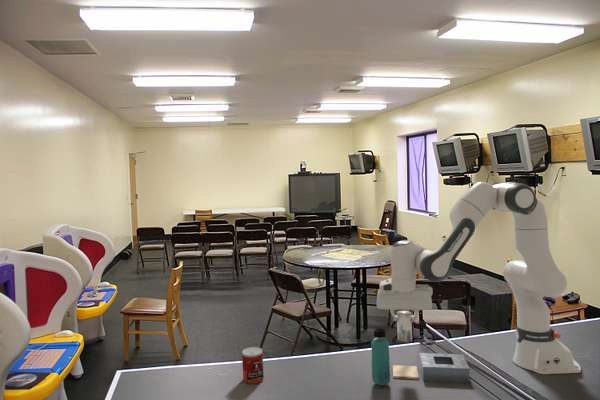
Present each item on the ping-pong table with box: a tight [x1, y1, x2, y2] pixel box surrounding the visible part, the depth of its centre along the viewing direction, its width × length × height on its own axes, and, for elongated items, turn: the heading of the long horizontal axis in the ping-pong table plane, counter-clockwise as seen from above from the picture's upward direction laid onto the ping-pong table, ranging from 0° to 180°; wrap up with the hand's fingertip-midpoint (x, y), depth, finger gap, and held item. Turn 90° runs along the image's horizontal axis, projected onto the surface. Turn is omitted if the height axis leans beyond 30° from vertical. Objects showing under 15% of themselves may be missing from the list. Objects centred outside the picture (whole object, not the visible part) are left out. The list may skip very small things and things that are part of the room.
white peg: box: [396, 310, 413, 343], centre depth 162 cm, size 5×5×10 cm
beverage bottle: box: [370, 328, 391, 386], centre depth 154 cm, size 6×7×20 cm
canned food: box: [241, 346, 265, 385], centre depth 161 cm, size 8×8×11 cm
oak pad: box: [392, 364, 420, 380], centre depth 163 cm, size 9×9×1 cm
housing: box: [419, 352, 471, 383], centre depth 161 cm, size 16×12×5 cm
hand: (404, 320), depth 161 cm, fingers closed on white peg, 5 cm apart
